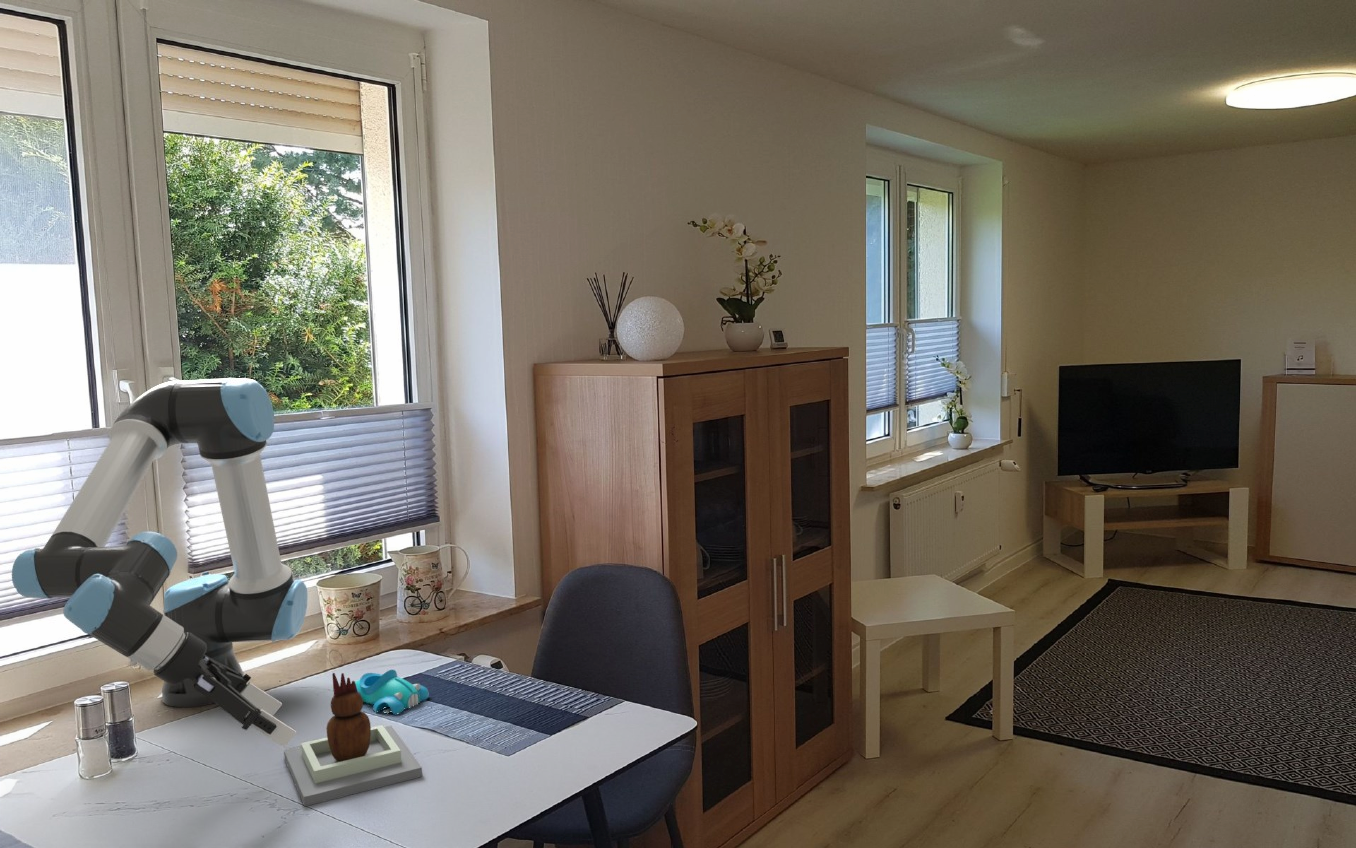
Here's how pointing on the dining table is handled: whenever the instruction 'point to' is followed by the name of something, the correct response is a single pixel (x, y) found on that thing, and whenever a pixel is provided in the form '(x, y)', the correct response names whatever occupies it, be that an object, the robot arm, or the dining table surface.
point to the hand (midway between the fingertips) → (283, 724)
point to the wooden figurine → (347, 722)
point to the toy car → (389, 691)
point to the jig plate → (350, 767)
